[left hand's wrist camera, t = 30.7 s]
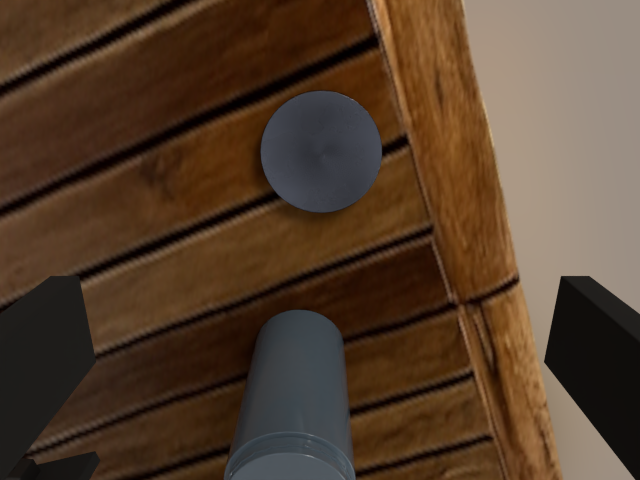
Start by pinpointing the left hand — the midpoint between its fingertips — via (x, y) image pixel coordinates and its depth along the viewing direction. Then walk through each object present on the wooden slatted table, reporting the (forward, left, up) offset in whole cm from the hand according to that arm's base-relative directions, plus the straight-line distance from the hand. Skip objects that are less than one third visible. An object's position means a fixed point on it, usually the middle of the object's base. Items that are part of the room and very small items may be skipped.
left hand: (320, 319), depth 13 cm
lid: (0, 0, -27) cm, 27 cm away
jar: (-10, -17, -29) cm, 35 cm away
